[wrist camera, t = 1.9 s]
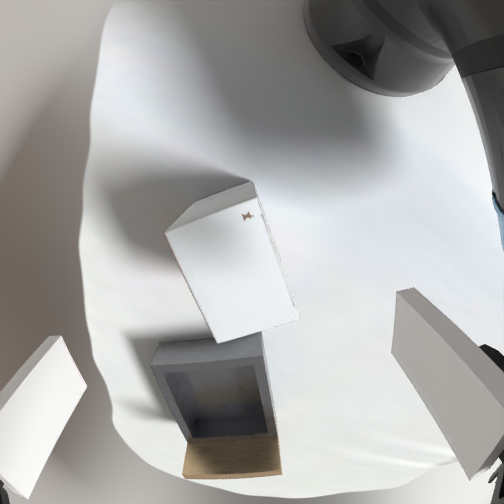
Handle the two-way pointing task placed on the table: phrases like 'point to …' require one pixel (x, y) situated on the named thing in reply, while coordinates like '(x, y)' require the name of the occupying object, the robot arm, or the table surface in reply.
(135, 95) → the table surface
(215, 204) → the small box
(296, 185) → the table surface
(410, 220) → the table surface
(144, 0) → the table surface
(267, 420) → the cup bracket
